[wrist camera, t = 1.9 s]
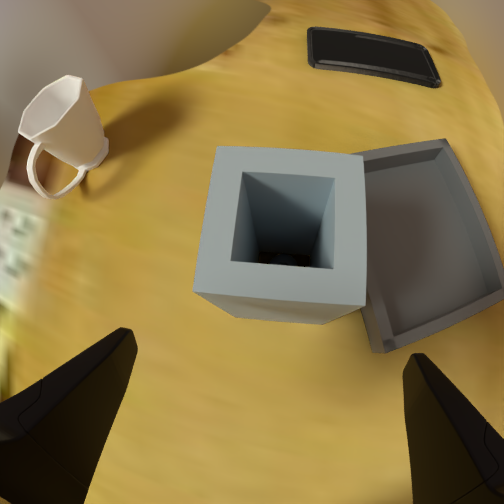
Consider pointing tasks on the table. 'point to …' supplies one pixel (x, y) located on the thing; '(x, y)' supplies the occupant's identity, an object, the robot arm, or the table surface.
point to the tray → (424, 245)
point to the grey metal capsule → (283, 260)
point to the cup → (64, 130)
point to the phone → (370, 55)
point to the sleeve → (284, 234)
